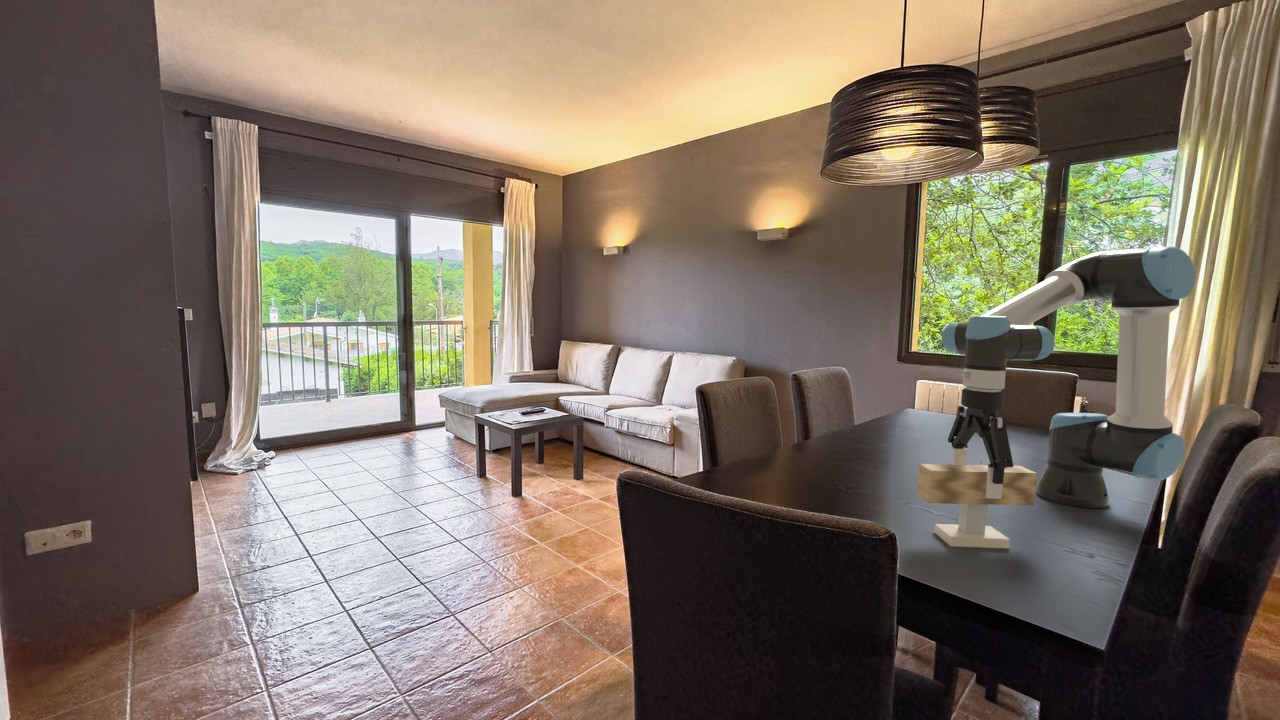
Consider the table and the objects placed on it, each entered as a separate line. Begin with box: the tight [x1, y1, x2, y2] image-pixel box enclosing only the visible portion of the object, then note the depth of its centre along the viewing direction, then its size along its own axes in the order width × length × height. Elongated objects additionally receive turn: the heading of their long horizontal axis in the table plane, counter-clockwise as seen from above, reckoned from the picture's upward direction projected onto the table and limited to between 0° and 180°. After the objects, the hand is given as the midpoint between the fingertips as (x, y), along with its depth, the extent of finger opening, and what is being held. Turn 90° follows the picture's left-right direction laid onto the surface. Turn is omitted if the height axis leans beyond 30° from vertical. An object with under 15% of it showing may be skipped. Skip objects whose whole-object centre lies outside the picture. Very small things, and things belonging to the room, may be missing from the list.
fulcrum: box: [933, 504, 1011, 549], centre depth 118 cm, size 12×7×9 cm, turn 87°
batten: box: [916, 463, 1038, 506], centre depth 117 cm, size 22×5×7 cm, turn 89°
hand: (974, 487), depth 117 cm, fingers open, 13 cm apart
